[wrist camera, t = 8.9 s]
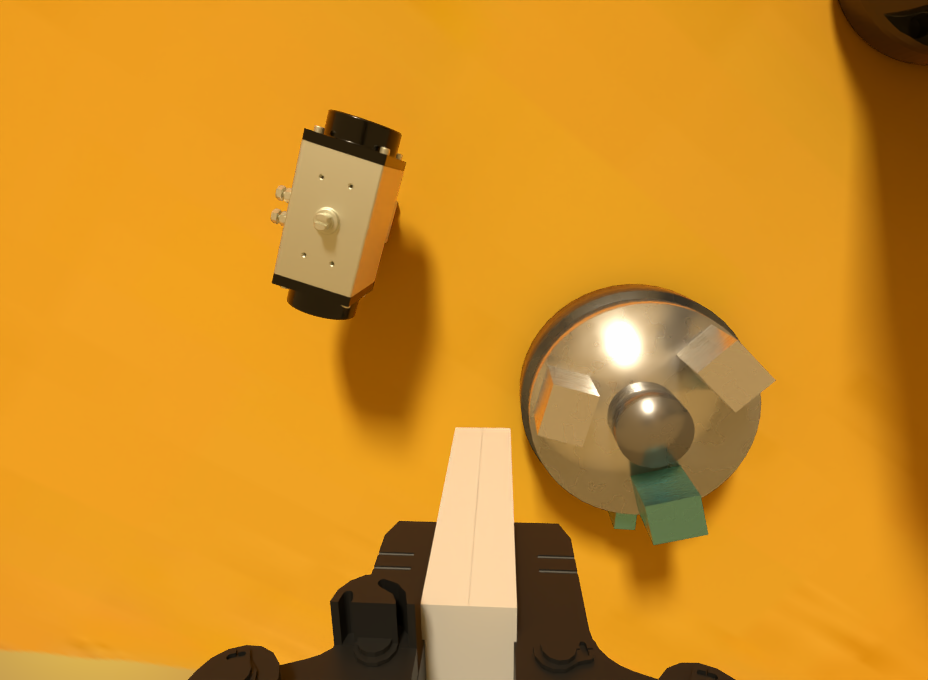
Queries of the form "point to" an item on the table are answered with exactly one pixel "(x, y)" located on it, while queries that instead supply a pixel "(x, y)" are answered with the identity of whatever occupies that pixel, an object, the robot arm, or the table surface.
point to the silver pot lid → (576, 311)
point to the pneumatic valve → (337, 214)
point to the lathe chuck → (646, 411)
